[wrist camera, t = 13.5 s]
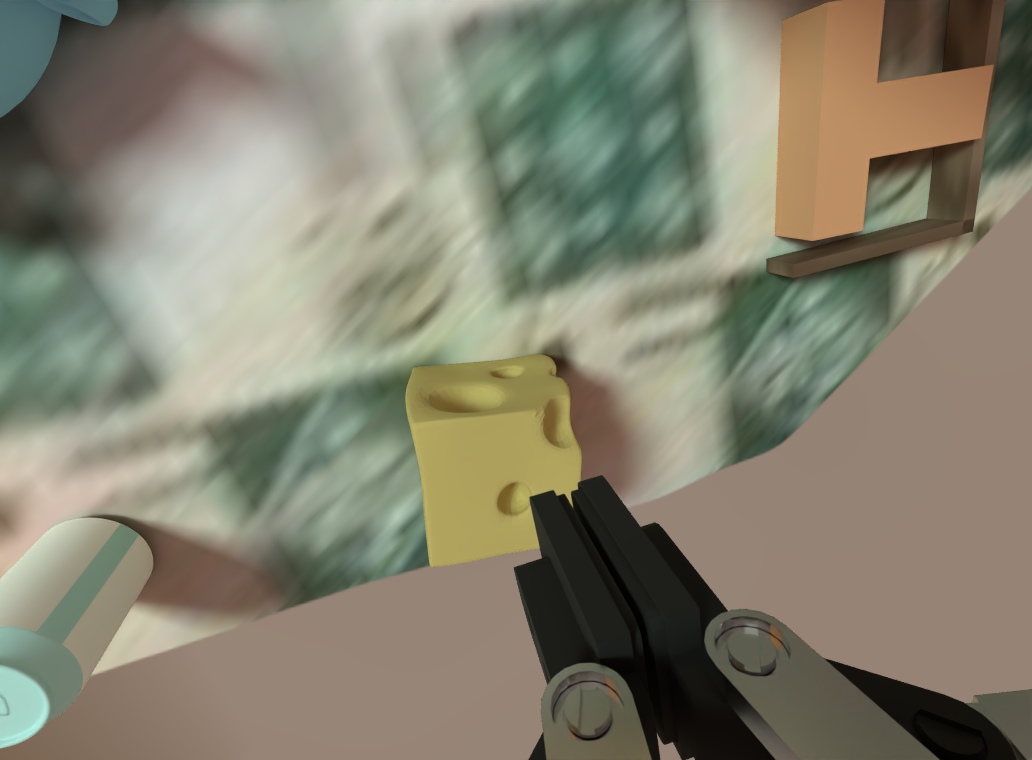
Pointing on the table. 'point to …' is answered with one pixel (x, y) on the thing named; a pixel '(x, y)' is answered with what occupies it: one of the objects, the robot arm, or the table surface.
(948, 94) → the t block
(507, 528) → the cheese
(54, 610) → the can
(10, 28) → the teapot
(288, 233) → the table surface
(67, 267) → the table surface
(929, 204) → the brown wooden rack
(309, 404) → the table surface
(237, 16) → the table surface
